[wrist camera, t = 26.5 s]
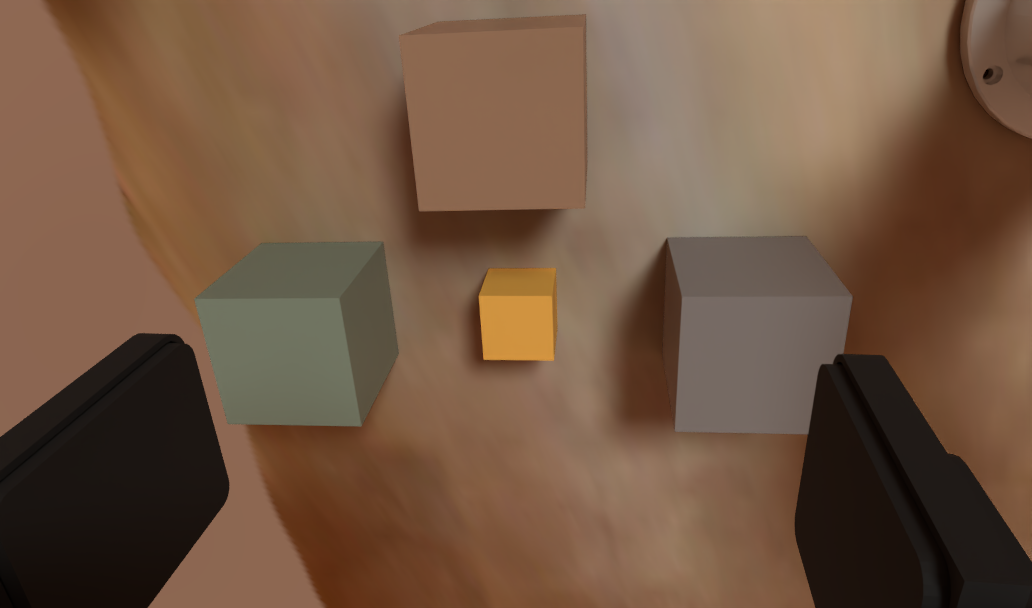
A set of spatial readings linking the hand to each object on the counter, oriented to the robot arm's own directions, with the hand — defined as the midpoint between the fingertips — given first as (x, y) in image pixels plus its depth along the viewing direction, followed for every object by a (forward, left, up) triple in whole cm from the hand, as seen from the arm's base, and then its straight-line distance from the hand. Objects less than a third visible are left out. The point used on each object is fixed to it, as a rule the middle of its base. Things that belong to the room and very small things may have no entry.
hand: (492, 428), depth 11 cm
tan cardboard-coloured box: (0, -3, -30) cm, 30 cm away
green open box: (+12, -15, -30) cm, 36 cm away
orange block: (+12, -3, -30) cm, 33 cm away
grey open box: (+12, +9, -30) cm, 34 cm away
